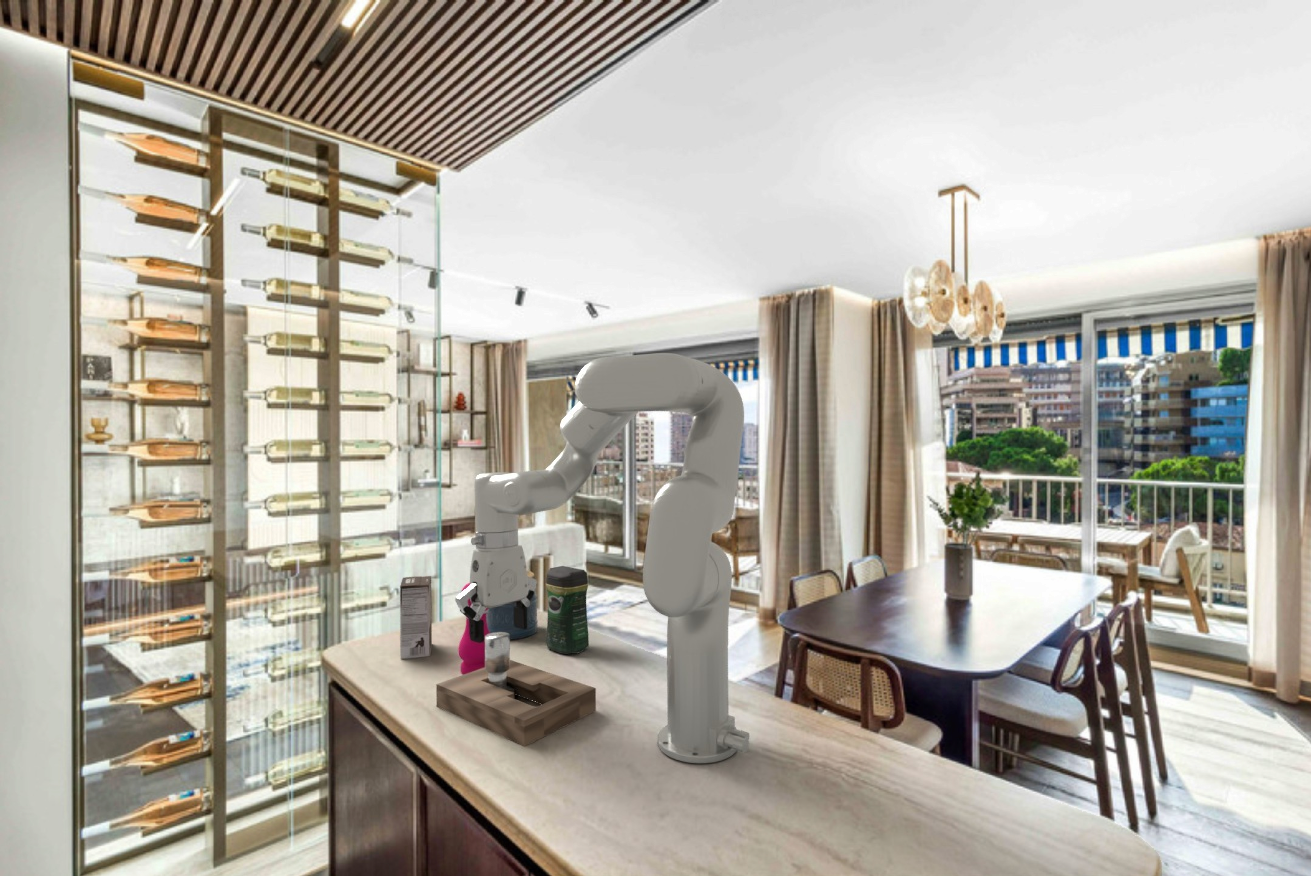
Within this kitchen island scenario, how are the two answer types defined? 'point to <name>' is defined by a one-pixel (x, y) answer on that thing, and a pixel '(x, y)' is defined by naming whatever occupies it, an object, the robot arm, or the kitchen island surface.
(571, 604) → the coffee jar
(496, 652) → the steel peg
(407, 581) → the coffee box
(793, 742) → the kitchen island surface
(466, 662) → the pepper mill
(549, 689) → the keyhole board
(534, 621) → the canister
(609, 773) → the kitchen island surface
